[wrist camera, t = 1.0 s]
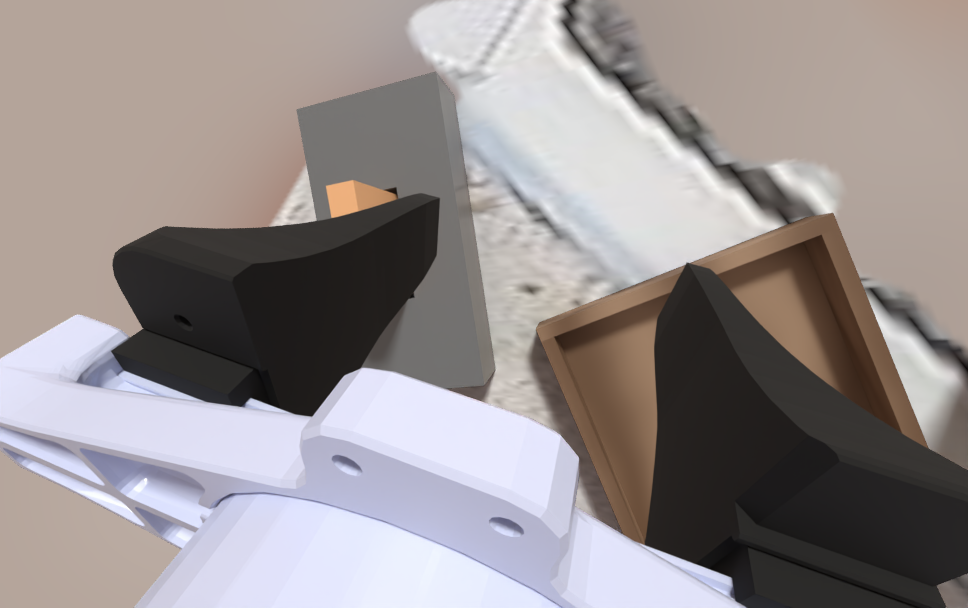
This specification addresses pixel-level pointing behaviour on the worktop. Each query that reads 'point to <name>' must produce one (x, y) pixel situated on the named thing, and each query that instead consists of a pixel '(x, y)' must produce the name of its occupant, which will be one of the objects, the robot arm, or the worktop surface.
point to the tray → (772, 302)
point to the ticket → (355, 197)
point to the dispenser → (405, 171)
